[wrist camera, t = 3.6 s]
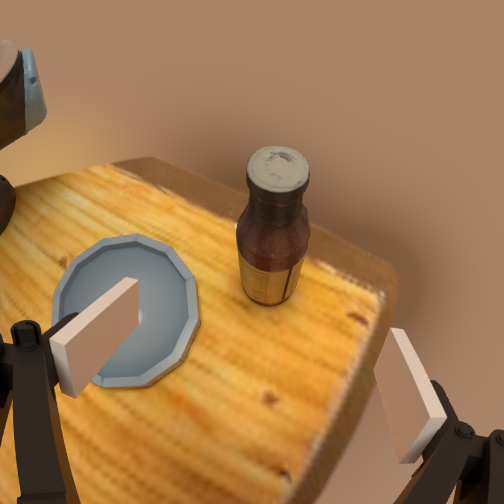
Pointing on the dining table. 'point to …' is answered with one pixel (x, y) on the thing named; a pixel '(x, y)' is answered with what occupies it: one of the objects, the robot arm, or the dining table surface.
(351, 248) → the dining table surface
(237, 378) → the dining table surface
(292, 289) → the sauce bottle
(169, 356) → the serving plate
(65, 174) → the dining table surface
